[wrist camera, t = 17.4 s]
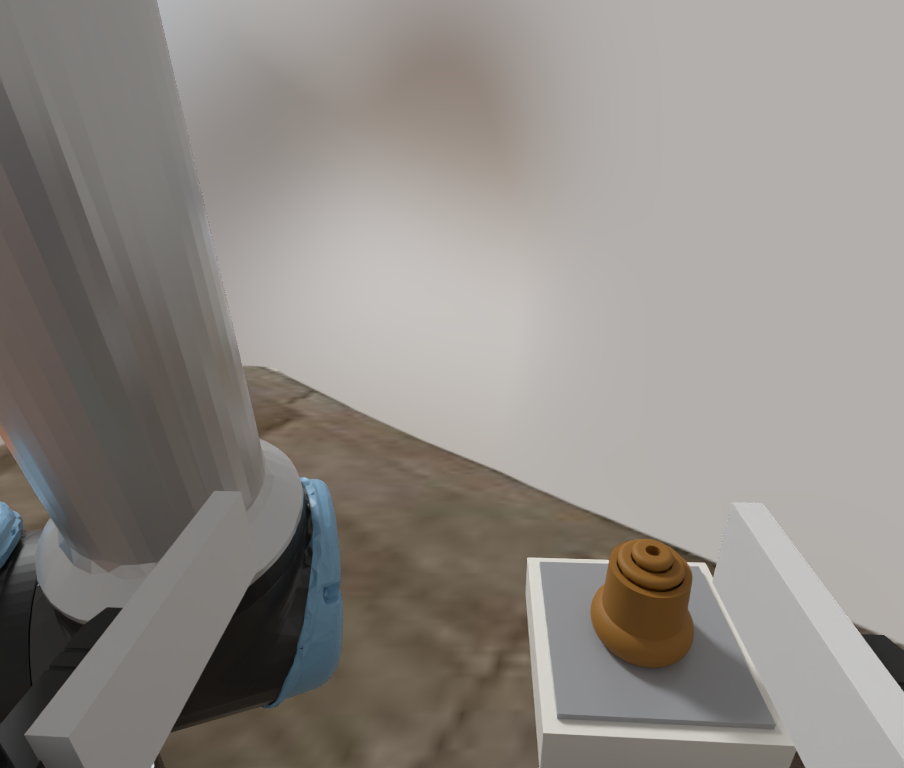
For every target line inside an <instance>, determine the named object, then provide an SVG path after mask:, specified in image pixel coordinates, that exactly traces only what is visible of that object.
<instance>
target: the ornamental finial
mask: <svg viewBox="0 0 904 768" xmlns="http://www.w3.org/2000/svg"><path fill="white" fill-rule="evenodd" d="M692 580H693V576H692V571H691V569H690V567H689V565H688V564H687V562H686V561H685V560H684V559H683V558H682V557H681V556H680V555H679V554H678V553H677V552H675V551H674V550H673V549H672V548H670V547H669V546H667V545H665V544H663V543H661V542H659V541H656V540H651V539H636V540H632V541H627V542H624V543H622V544H620V545H618V546H617V547H615V548H614V549H613V551H612V552H611V555H610V558H609V564H608V569H607V574H606V579H605V584H603V585H602V586H601V587H600V588H599V589H598V590H597V592H596V593H595V595H594V597H593V600H592V603H591V611H590V613H591V621H592V625H593V628H594V630H595V632H596V634H597V636H598V637H599V639H600V640H601V642H602V643H603V644H604V645H605V646H606V647H607V648H608V649H609V650H610V651H611V652H612V653H613V654H615V655H616V656H618V657H619V658H621V659H623V660H625V661H627V662H629V663H631V664H634V665H637V666H641V667H648V668H660V667H666V666H669V665H672V664H674V663H676V662H678V661H679V660H681V659H682V658H683V657H684V656H685V655H686V654H687V653H688V651H689V650H690V648H691V646H692V643H693V639H694V624H693V620H692V617H691V614H690V612H689V610H688V604H689V598H690V592H691V586H692Z"/></svg>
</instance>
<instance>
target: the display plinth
mask: <svg viewBox="0 0 904 768" xmlns="http://www.w3.org/2000/svg"><path fill="white" fill-rule="evenodd" d="M608 564H609V560H591V559H557V558H527V577H526V604H527V617H528V629H529V642H530V655H531V668H532V680H533V693H534V706H535V718H536V731H537V744H538V756H539V768H789V767H790V765H791V763H792V760H793V758H794V755H795V753H796V748H795V746H794V744H793V742H792V740H791V738H790V736H789V734H788V732H787V730H786V728H785V726H784V724H783V722H782V720H781V718H780V716H779V714H778V712H777V710H776V708H775V706H774V704H773V702H772V700H771V698H770V696H769V694H768V692H767V690H766V688H765V686H764V684H763V682H762V680H761V678H760V676H759V674H758V672H757V670H756V668H755V666H754V664H753V662H752V660H751V658H750V656H749V654H748V652H747V650H746V648H745V646H744V644H743V642H742V640H741V638H740V636H739V634H738V632H737V630H736V628H735V626H734V624H733V622H732V620H731V618H730V616H729V614H728V612H727V610H726V608H725V606H724V604H723V602H722V600H721V598H720V596H719V594H718V592H717V590H716V588H715V586H714V584H713V582H712V581H713V577H712V575H711V573H710V571H709V569H708V567H707V565H706V564H705V563H692V562H687V564H688V565H689V567H690V569H691V571H692V576H693V580H692V586H691V592H690V598H689V604H688V610H689V612H690V614H691V617H692V620H693V624H694V639H693V643H692V646H691V648H690V650H689V651H688V653H687V654H686V655H685V656H684V657H683V658H682V659H681V660H679V661H678V662H676V663H674V664H672V665H669V666H666V667H660V668H648V667H641V666H637V665H634V664H631V663H629V662H627V661H625V660H623V659H621V658H619V657H618V656H616V655H615V654H613V653H612V652H611V651H610V650H609V649H608V648H607V647H606V646H605V645H604V644H603V643H602V642H601V640H600V639H599V637H598V636H597V634H596V632H595V630H594V628H593V625H592V621H591V613H590V611H591V603H592V600H593V597H594V595H595V593H596V592H597V590H598V589H599V588H600V587H601V586H602V585H603V584H605V579H606V574H607V569H608Z"/></svg>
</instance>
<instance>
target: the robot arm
mask: <svg viewBox="0 0 904 768" xmlns="http://www.w3.org/2000/svg"><path fill="white" fill-rule="evenodd" d="M0 436H1V437H2V439H3V441H4V442H5V444H6V446H7V447H8V449H9V450H10V452H11V454H12V455H13V457H14V459H15V460H16V462H17V464H18V465H19V467H20V468H21V470H22V472H23V473H24V475H25V477H26V478H27V480H28V481H29V483H30V485H31V486H32V488H33V490H34V491H35V493H36V495H37V496H38V498H39V499H40V501H41V503H42V504H43V506H44V508H45V509H46V511H47V512H48V514H49V516H50V519H49V520H48V522H47V524H46V525H45V527H44V529H39V530H32V531H26V530H23V520H22V518H21V517H20V515H19V513H17V512H14V511H12V510H11V509H10V508H9V506H8V505H7V504H5V503H3V502H0V768H164V764H163V762H162V759H161V756H160V754H159V752H160V750H161V748H162V746H163V744H164V743H165V741H166V739H167V737H168V735H169V733H171V732H174V731H178V730H181V729H185V728H188V727H191V726H195V725H198V724H202V723H205V722H209V721H212V720H216V719H219V718H223V717H226V716H230V715H233V714H237V713H240V712H244V711H247V710H251V709H254V708H258V707H263V708H273V707H276V706H278V705H279V704H280V703H282V702H283V701H284V700H285V699H287V698H290V697H293V696H296V695H299V694H301V693H304V692H307V691H310V690H313V689H316V688H318V687H320V686H321V685H323V684H324V683H326V682H327V681H328V680H329V679H330V678H331V676H332V675H333V674H334V672H335V670H336V668H337V666H338V663H339V660H340V655H341V648H342V634H343V607H342V595H341V590H340V584H341V579H340V573H341V564H340V552H339V542H338V533H337V525H336V518H335V512H334V507H333V502H332V497H331V494H330V491H329V488H328V486H327V485H326V484H325V483H324V482H323V481H321V480H319V479H307V478H305V477H303V478H301V477H299V475H298V473H297V470H296V468H295V467H294V465H293V463H292V461H291V460H290V459H289V458H288V457H287V456H286V455H285V454H284V453H283V452H282V451H280V450H279V449H278V448H276V447H275V446H273V445H271V444H270V443H268V442H266V441H263V440H261V439H259V435H258V431H257V427H256V423H255V418H254V414H253V410H252V406H251V401H250V397H249V393H248V388H247V384H246V380H245V376H244V371H243V367H242V363H241V359H240V354H239V350H238V346H237V342H236V337H235V333H234V329H233V324H232V320H231V316H230V312H229V307H228V303H227V299H226V294H225V290H224V286H223V282H222V278H221V273H220V269H219V265H218V260H217V256H216V252H215V248H214V243H213V239H212V235H211V230H210V226H209V222H208V218H207V213H206V209H205V205H204V201H203V196H202V192H201V188H200V183H199V179H198V175H197V171H196V167H195V162H194V158H193V154H192V149H191V145H190V141H189V136H188V132H187V128H186V124H185V120H184V115H183V111H182V107H181V103H180V98H179V94H178V90H177V85H176V81H175V77H174V72H173V68H172V64H171V60H170V56H169V51H168V47H167V43H166V39H165V34H164V30H163V25H162V21H161V17H160V13H159V8H158V4H157V0H0ZM712 582H713V584H714V586H715V588H716V590H717V592H718V594H719V596H720V598H721V600H722V602H723V604H724V606H725V608H726V610H727V612H728V614H729V616H730V618H731V620H732V622H733V624H734V626H735V628H736V630H737V632H738V634H739V636H740V638H741V640H742V642H743V644H744V646H745V648H746V650H747V652H748V654H749V656H750V658H751V660H752V662H753V664H754V666H755V668H756V670H757V672H758V674H759V676H760V678H761V680H762V682H763V684H764V686H765V688H766V690H767V692H768V694H769V696H770V698H771V700H772V702H773V704H774V706H775V708H776V710H777V712H778V714H779V716H780V718H781V720H782V722H783V724H784V726H785V728H786V730H787V732H788V734H789V736H790V738H791V740H792V742H793V744H794V746H795V748H796V750H797V752H798V754H799V756H800V758H801V760H802V762H803V764H804V766H805V768H904V651H903V650H902V649H901V648H900V647H898V646H897V645H896V644H894V643H893V642H892V641H891V640H889V639H888V638H887V637H886V636H884V635H865V634H860V633H859V631H858V630H857V629H856V627H855V626H854V625H853V623H852V622H851V621H850V619H849V618H848V617H847V615H846V614H845V613H844V611H843V610H842V609H841V608H840V606H839V605H838V603H837V602H836V601H835V599H834V598H833V597H832V595H831V594H830V593H829V591H828V590H827V589H826V587H825V586H824V585H823V583H822V582H821V581H820V579H819V578H818V577H817V575H816V574H815V573H814V571H813V570H812V569H811V567H810V566H809V565H808V563H807V562H806V560H805V559H804V558H803V557H802V555H801V554H800V552H799V551H798V550H797V548H796V547H795V546H794V544H793V543H792V542H791V540H790V539H789V538H788V537H787V535H786V534H785V532H784V531H783V530H782V528H781V527H780V526H779V525H778V523H777V522H776V520H775V519H774V518H773V516H772V515H771V514H770V512H769V511H768V510H767V508H766V507H765V506H764V504H763V503H740V502H732V504H731V508H730V512H729V516H728V521H727V525H726V528H725V532H724V536H723V541H722V545H721V549H720V553H719V557H718V561H717V565H716V569H715V573H714V577H713V581H712Z"/></svg>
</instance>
